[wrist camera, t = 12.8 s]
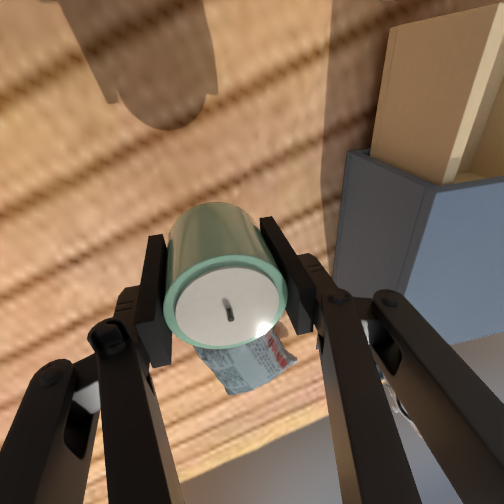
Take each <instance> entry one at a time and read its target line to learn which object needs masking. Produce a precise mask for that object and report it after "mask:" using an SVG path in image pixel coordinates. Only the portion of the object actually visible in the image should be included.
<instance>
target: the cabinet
mask: <svg viewBox="0 0 504 504" xmlns="http://www.w3.org/2000/svg"><path fill="white" fill-rule="evenodd" d="M370 150H371V148H369V149H362V150H354V151H348V152H347V157H346V166H345V174H344V183H343V192H342V200H341V209H340V217H339V226H338V234H337V243H336V252H335V260H334V269H333V277H332V280H333V281H334V283H335V284H336V285H337V287H338V288H341V289H344V290H346V291H348V292H349V293H350V294H351V295H352V296H353V297H362V298H373V294H374V293H375V292H376V291H378V290H381V289H389V290H394V291H396V292H398V293H400V294H402V295H403V296H404V297H405V298H406V299H407V300H408V301H409V302H410V303H411V304H412V305H413V306H414V307H415V309H416V310H417V311H418V312H419V313H420V314H421V315H422V316H423V317H424V318H425V319H426V320H427V322H428V323H429V324H430V325H431V326H432V327H433V328H434V329H435V330H436V331H437V332H438V333H439V335H440V336H441V337H442V338H443V339H444V340H445V341H446V342H447V343H448V344H449V345H452V344H456V343H460V342H464V341H468V340H472V339H476V338H479V337H484V336H488V335H492V334H496V333H500V332H504V176H498V177H492V178H486V179H479V180H473V181H467V182H461V183H454V184H448V185H442V186H437V185H435V184H433V183H431V182H428V181H426V180H424V179H421V178H419V177H417V176H414V175H412V174H410V173H407V172H405V171H403V170H400V169H398V168H396V167H393V166H391V165H389V164H386V163H384V162H382V161H380V160H377V159H375V158H373V157H370Z"/></svg>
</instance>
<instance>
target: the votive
mask: <svg viewBox="0 0 504 504" xmlns="http://www.w3.org/2000/svg"><path fill="white" fill-rule="evenodd" d="M287 300H288V289H287V284H286V281H285V279H284V277H283V275H282V273H281V271H280V269H279V267H278V265H277V263H276V261H275V260H274V258H273V256H272V254H271V252H270V250H269V248H268V246H267V244H266V242H265V240H264V238H263V236H262V234H261V232H260V230H259V228H258V226H257V224H256V223H255V221H254V220H253V218H252V217H251V216H250V215H249V214H248V213H247V212H246V211H244V210H243V209H241V208H239V207H237V206H235V205H232V204H228V203H222V202H211V203H205V204H201V205H198V206H195V207H193V208H191V209H189V210H187V211H186V212H185V213H183V214H182V215H181V216H180V217H179V218H178V219H177V220H176V222H175V223H174V224H173V226H172V228H171V230H170V233H169V236H168V243H167V257H166V272H165V286H164V301H163V314H164V318H165V321H166V323H167V325H168V327H169V329H170V330H171V331H172V332H173V333H174V334H175V335H176V336H177V337H178V338H179V339H181V340H182V341H184V342H186V343H188V344H191V345H193V346H196V347H200V348H206V349H226V348H233V347H237V346H241V345H244V344H246V343H249V342H251V341H253V340H255V339H257V338H259V337H261V336H262V335H264V334H265V333H266V332H268V331H269V330H270V329H271V328H272V327H273V326H274V325H275V324H276V323H277V322H278V321H279V319H280V318H281V316H282V314H283V312H284V311H285V308H286V305H287Z"/></svg>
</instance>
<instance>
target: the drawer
mask: <svg viewBox="0 0 504 504" xmlns="http://www.w3.org/2000/svg"><path fill="white" fill-rule="evenodd" d="M382 1H392V0H382ZM370 157H373V158H375V159H377V160H380V161H382V162H384V163H386V164H389V165H391V166H393V167H396V168H398V169H400V170H403V171H405V172H407V173H410V174H412V175H414V176H417V177H419V178H421V179H424V180H426V181H428V182H431V183H433V184H435V185H437V186H442V185H448V184H454V183H461V182H467V181H473V180H479V179H486V178H492V177H498V176H504V2H499V3H495V4H491V5H486V6H482V7H477V8H473V9H469V10H464V11H460V12H455V13H451V14H446V15H442V16H438V17H433V18H429V19H424V20H420V21H415V22H411V23H407V24H402V25H398V26H394V27H391V28H390V32H389V38H388V44H387V51H386V57H385V63H384V69H383V76H382V82H381V88H380V94H379V100H378V107H377V113H376V119H375V125H374V131H373V138H372V144H371V150H370Z"/></svg>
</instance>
